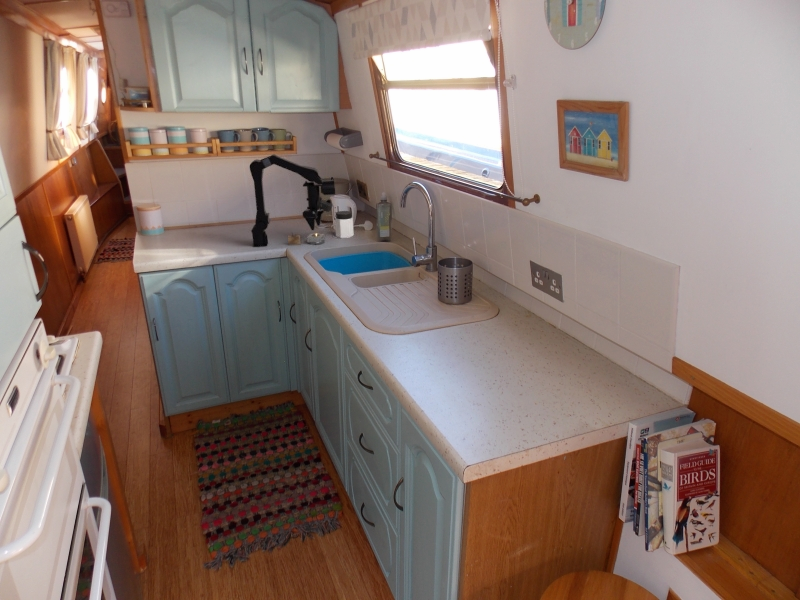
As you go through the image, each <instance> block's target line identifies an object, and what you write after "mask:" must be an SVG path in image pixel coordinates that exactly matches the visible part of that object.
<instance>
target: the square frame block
mask: <svg viewBox="0 0 800 600" xmlns="http://www.w3.org/2000/svg"><path fill="white" fill-rule="evenodd" d="M317 235H318V236H314V233H310V234H309V235H307V237H306V239H307V241H306V242H307V243H308V242H322V241H323V240H325V237H326V235H325V233H317Z"/></svg>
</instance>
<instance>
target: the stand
mask: <svg viewBox="0 0 800 600" xmlns="http://www.w3.org/2000/svg"><path fill="white" fill-rule="evenodd" d="M291 234H292V235H287V242H288V243H287V244H288V246H295V245H301V235H300V234H296V233H295V232H292V233H291Z"/></svg>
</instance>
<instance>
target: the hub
mask: <svg viewBox="0 0 800 600" xmlns="http://www.w3.org/2000/svg"><path fill="white" fill-rule="evenodd" d="M313 234H314V236H318V235H317V234H318V232H314V233H313ZM325 242H326V240H325V239H324V240H323V241H322V242H307V244H308V245H311V246H318V245H322V244H325Z"/></svg>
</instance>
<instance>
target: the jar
mask: <svg viewBox="0 0 800 600" xmlns="http://www.w3.org/2000/svg"><path fill="white" fill-rule="evenodd" d="M334 222H335V223H334V226H335V237H337V238H339V239H347V238H348V239H349V238H352V237H353V236H354V217H353V212H352V211H349V210H341V211H340V210H339V211H336V212H335V218H334Z"/></svg>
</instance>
